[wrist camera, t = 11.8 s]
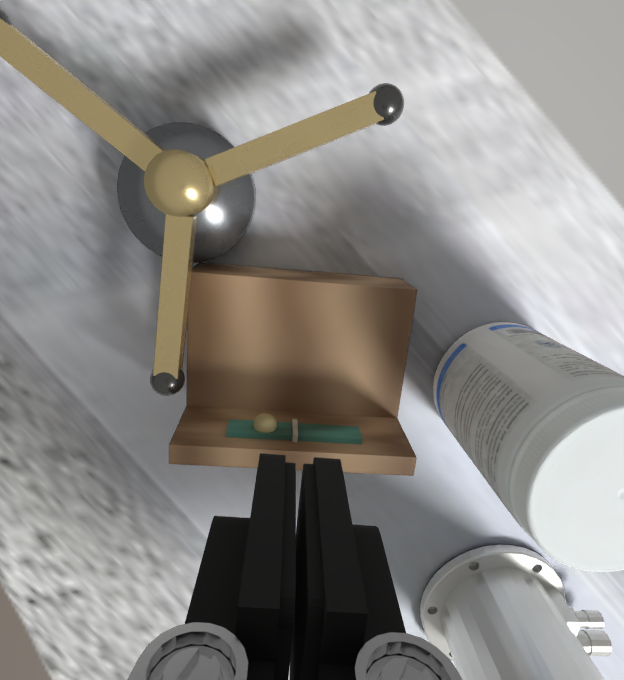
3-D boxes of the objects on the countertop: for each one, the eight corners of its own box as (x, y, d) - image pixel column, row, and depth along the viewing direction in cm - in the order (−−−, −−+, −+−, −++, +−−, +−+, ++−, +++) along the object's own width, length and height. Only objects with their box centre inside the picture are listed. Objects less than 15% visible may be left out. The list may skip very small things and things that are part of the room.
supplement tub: (468, 456, 38) (573, 610, 24) (405, 367, 36) (483, 481, 22) (575, 389, 37) (752, 510, 23) (518, 291, 35) (678, 361, 21)
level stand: (402, 278, 34) (442, 309, 25) (383, 408, 37) (413, 475, 28) (199, 262, 33) (169, 288, 24) (196, 397, 36) (169, 463, 27)
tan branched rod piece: (130, -132, 26) (74, -250, 19) (390, 116, 30) (421, 95, 23) (-64, 192, 30) (-168, 193, 23) (188, 369, 35) (164, 414, 28)
